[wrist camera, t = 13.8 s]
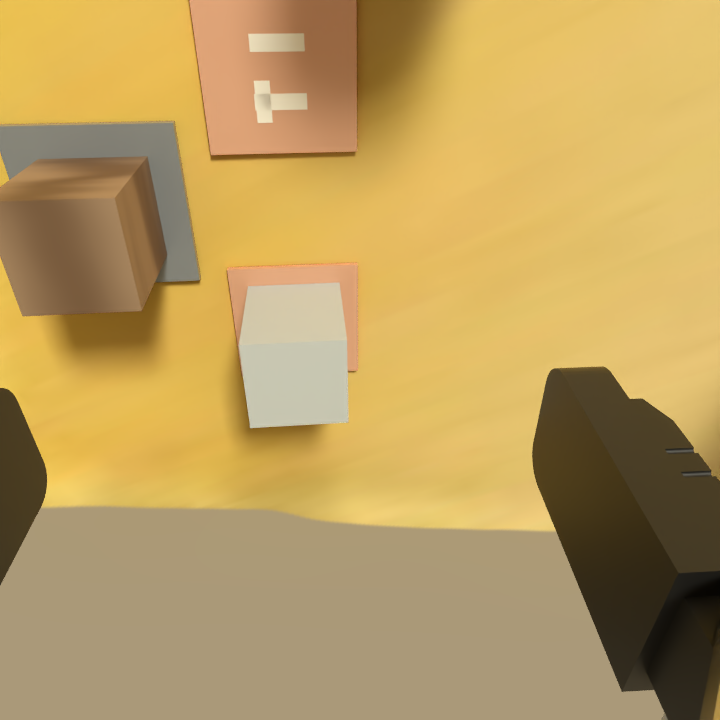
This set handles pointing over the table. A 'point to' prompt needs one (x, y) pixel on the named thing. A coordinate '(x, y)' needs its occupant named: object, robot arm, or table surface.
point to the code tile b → (301, 275)
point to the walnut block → (81, 235)
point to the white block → (294, 355)
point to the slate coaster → (119, 140)
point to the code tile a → (278, 74)
